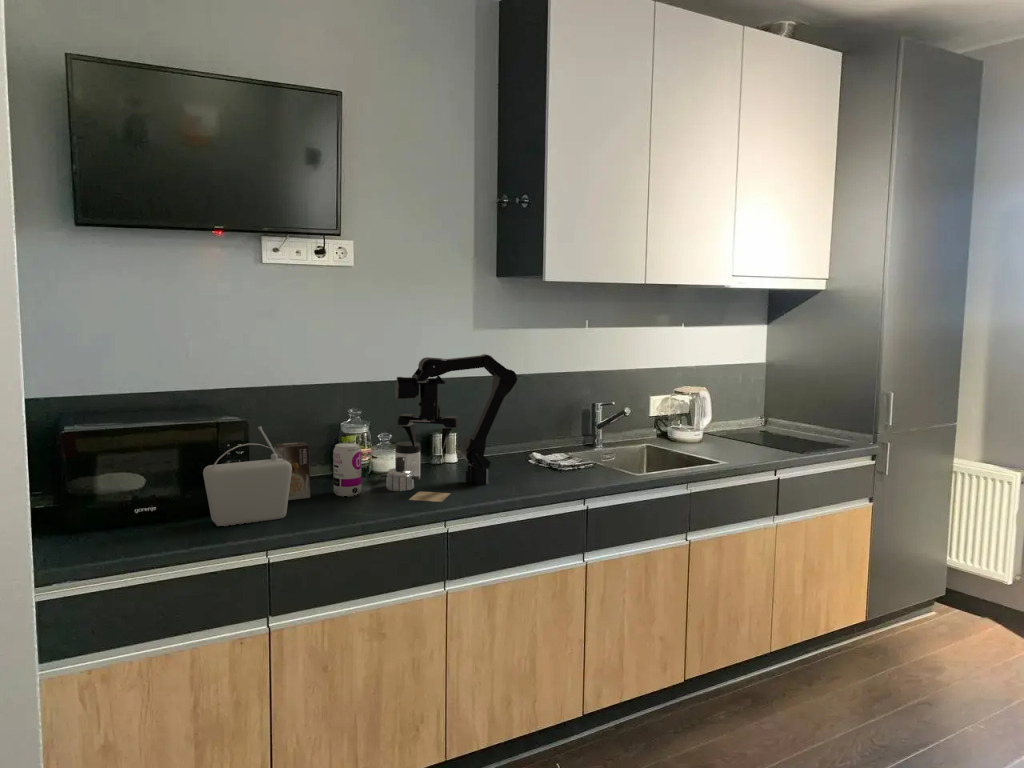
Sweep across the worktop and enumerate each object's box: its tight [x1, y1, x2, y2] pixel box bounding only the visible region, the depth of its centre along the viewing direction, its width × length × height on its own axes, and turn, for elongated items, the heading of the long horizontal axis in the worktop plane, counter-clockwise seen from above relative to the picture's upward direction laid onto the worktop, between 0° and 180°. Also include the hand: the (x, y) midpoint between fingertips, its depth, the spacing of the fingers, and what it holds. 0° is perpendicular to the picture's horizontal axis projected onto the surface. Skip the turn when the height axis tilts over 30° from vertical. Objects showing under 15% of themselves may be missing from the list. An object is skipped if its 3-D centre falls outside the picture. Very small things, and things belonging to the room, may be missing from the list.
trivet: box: [408, 491, 451, 503], centre depth 235 cm, size 10×10×1 cm
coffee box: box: [273, 441, 311, 501], centre depth 234 cm, size 9×6×16 cm
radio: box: [202, 425, 292, 527], centre depth 210 cm, size 22×8×25 cm, turn 123°
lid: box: [387, 457, 412, 477], centre depth 244 cm, size 7×7×5 cm
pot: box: [380, 473, 421, 492], centre depth 245 cm, size 12×8×5 cm
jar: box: [394, 440, 422, 477], centre depth 259 cm, size 9×8×12 cm
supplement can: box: [332, 442, 362, 497], centre depth 239 cm, size 8×8×15 cm
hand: (428, 447), depth 246 cm, fingers open, 9 cm apart
